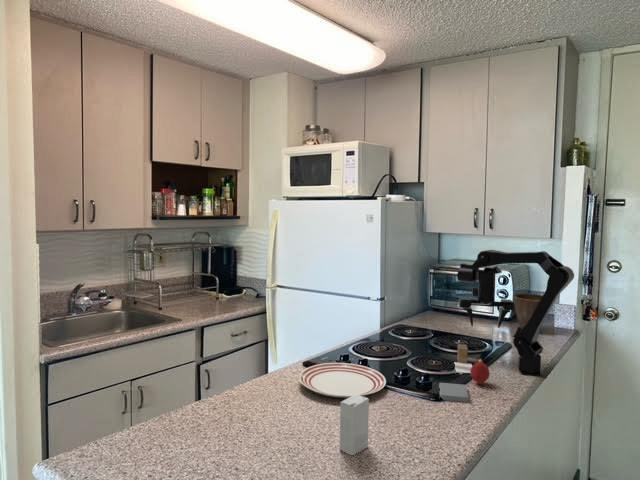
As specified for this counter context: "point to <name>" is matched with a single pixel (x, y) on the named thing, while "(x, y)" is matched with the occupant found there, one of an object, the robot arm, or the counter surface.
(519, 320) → the plant pot
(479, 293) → the robot arm
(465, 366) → the turner
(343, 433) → the skincare box
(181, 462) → the counter surface
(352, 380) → the dinner plate
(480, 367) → the onion
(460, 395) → the tile
